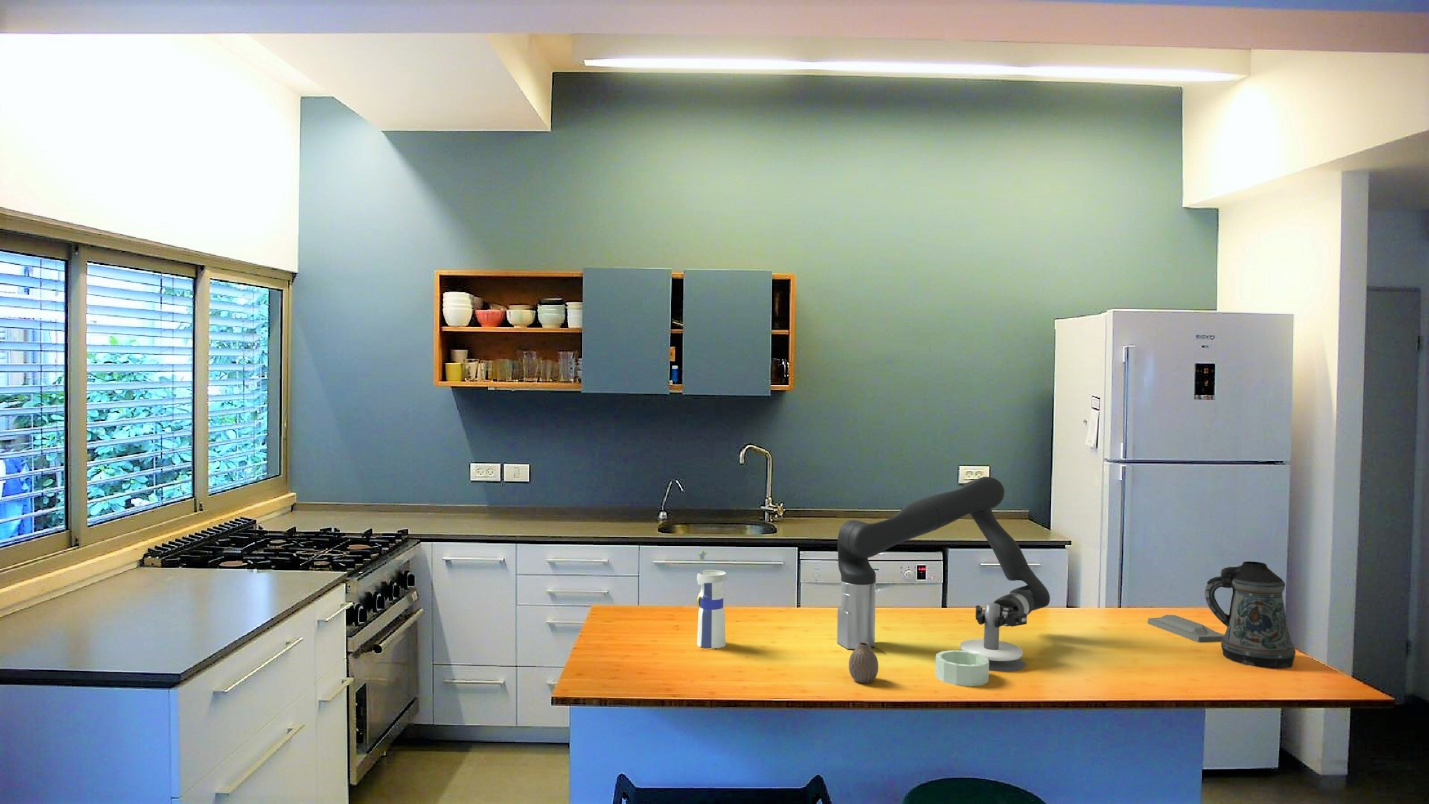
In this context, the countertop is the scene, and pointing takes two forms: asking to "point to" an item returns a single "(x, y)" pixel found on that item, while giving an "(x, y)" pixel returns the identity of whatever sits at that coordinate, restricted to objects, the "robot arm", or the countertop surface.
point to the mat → (1006, 665)
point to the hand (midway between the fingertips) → (988, 622)
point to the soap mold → (1186, 628)
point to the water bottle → (711, 608)
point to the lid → (992, 640)
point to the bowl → (962, 668)
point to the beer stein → (1253, 616)
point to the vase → (863, 664)
